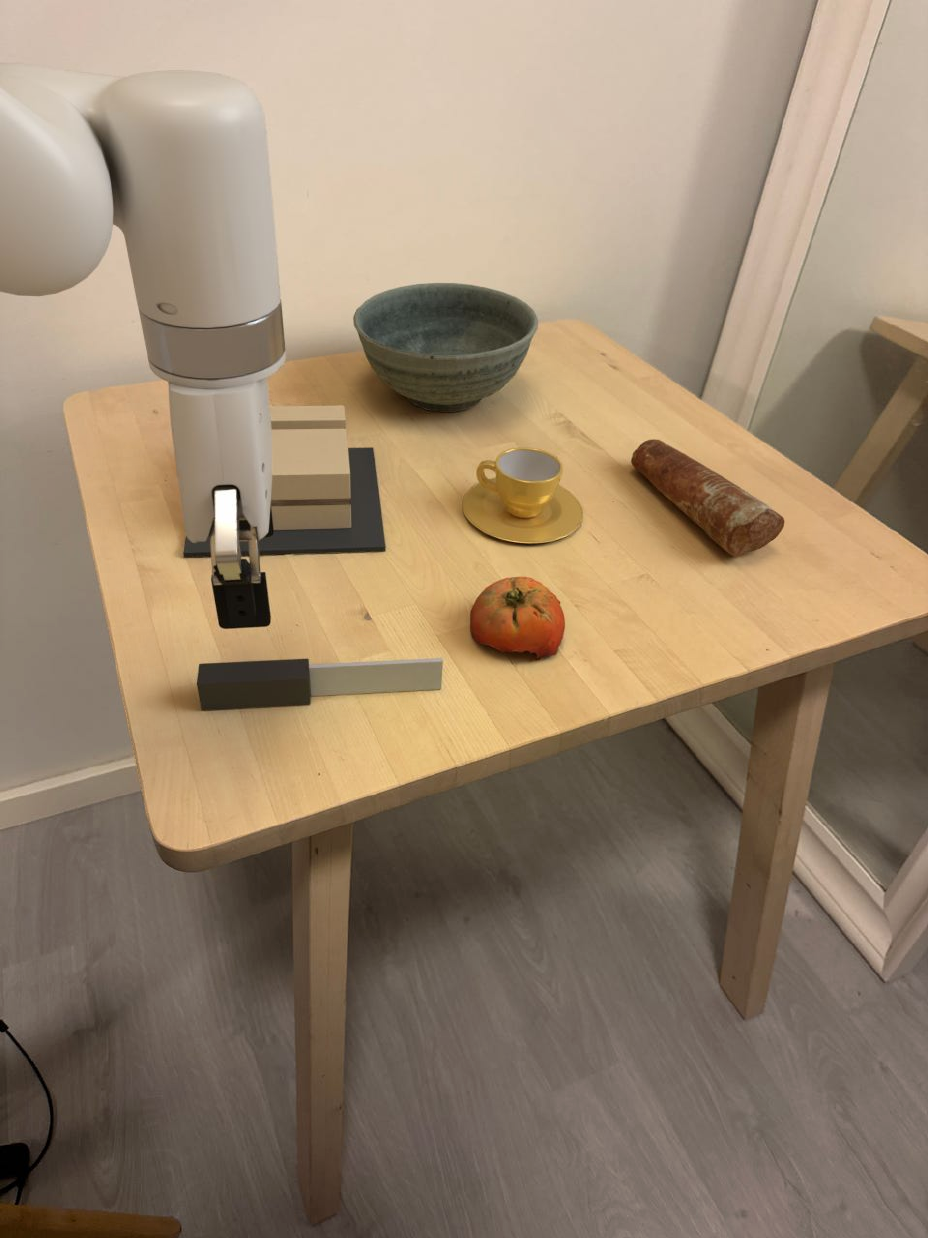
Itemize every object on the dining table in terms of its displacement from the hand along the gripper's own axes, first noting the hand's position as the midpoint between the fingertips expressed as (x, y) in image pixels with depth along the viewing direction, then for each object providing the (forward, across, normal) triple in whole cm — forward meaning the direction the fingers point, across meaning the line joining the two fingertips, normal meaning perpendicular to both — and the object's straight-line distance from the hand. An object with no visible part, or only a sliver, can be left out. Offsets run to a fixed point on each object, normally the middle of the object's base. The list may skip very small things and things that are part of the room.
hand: (248, 577), depth 61 cm
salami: (+12, -23, +42) cm, 49 cm away
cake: (+11, -27, +2) cm, 29 cm away
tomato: (+12, -6, +20) cm, 24 cm away
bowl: (+12, -49, +20) cm, 54 cm away
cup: (+12, -24, +24) cm, 36 cm away
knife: (+11, 0, +4) cm, 12 cm away
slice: (+11, -32, +2) cm, 34 cm away
